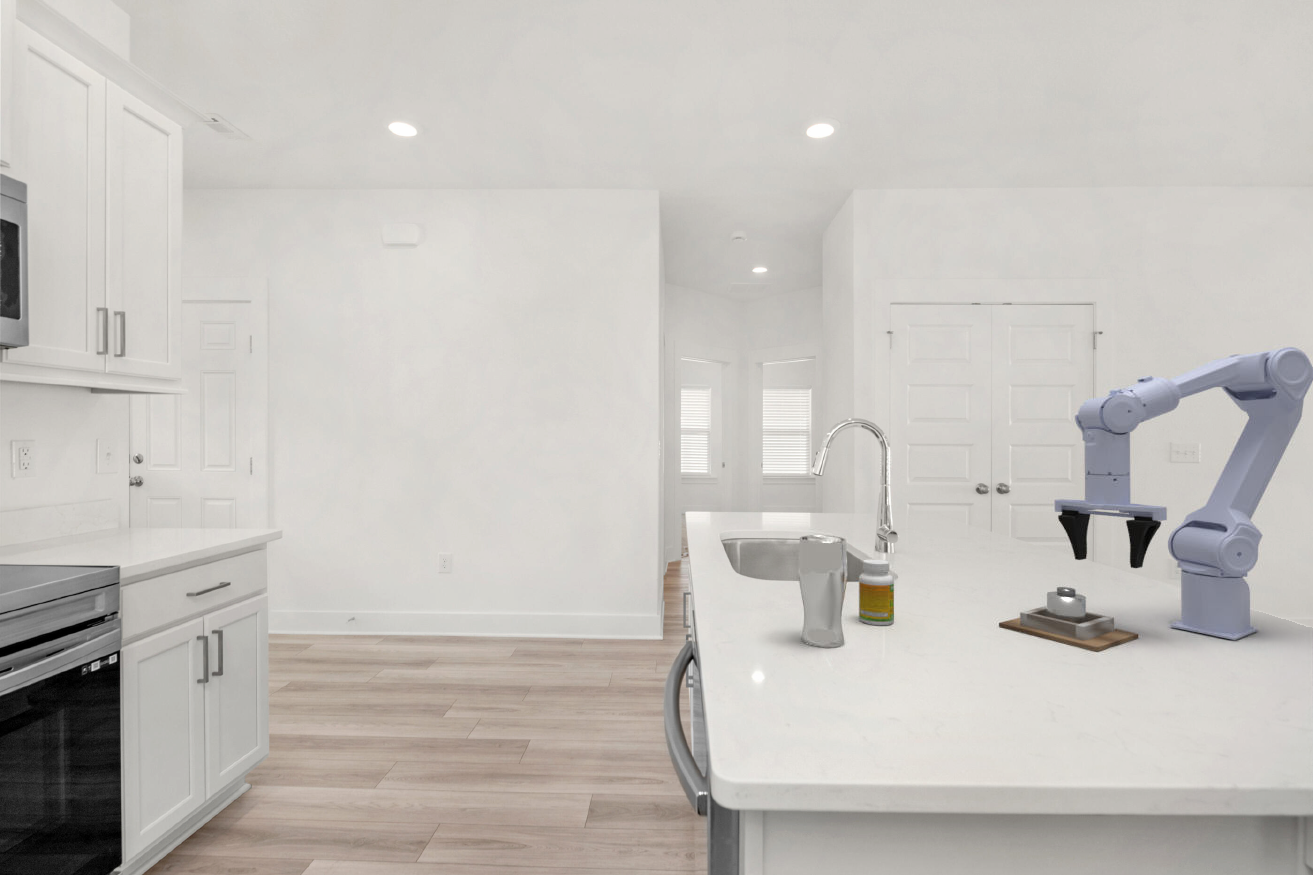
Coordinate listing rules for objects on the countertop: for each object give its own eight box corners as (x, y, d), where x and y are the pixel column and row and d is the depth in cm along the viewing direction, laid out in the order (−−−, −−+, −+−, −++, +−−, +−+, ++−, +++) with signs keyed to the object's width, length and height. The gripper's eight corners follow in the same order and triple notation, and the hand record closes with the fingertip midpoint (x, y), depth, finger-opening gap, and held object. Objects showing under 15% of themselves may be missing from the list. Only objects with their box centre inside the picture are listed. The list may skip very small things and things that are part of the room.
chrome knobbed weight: (1059, 621, 101) (1059, 583, 101) (1093, 630, 96) (1093, 590, 96) (1039, 626, 99) (1039, 587, 99) (1073, 634, 94) (1073, 593, 94)
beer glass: (794, 645, 91) (794, 540, 91) (802, 631, 98) (802, 533, 98) (845, 651, 89) (844, 543, 89) (849, 637, 95) (849, 536, 95)
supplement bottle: (896, 627, 100) (896, 565, 100) (860, 625, 101) (860, 563, 101) (891, 617, 106) (891, 558, 106) (857, 616, 107) (857, 557, 107)
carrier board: (1041, 615, 106) (1040, 600, 106) (1138, 637, 94) (1138, 620, 94) (998, 626, 100) (998, 610, 100) (1097, 651, 88) (1097, 632, 88)
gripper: (1044, 473, 102) (1044, 558, 102) (1150, 477, 90) (1151, 574, 90) (1067, 472, 106) (1067, 554, 106) (1173, 476, 93) (1173, 569, 93)
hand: (1107, 563), depth 98 cm, fingers open, 7 cm apart
